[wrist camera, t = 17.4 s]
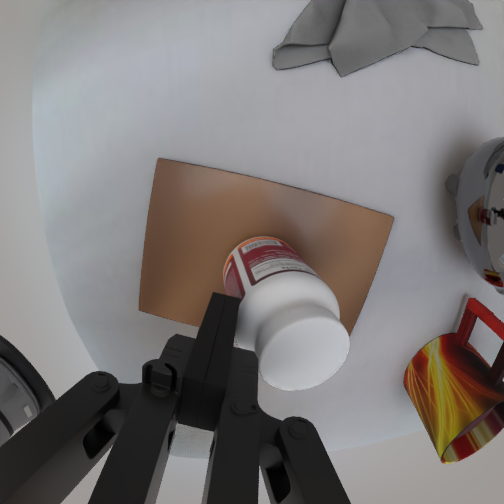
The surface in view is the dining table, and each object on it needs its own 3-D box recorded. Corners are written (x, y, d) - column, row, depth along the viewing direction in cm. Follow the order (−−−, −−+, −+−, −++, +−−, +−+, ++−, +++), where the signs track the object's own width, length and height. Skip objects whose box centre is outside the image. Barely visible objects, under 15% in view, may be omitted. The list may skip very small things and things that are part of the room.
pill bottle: (263, 317, 25) (300, 414, 15) (206, 277, 23) (213, 374, 12) (312, 264, 24) (383, 340, 14) (258, 217, 22) (310, 276, 12)
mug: (468, 289, 25) (536, 347, 13) (465, 373, 28) (506, 431, 17) (396, 326, 26) (450, 408, 15) (405, 404, 30) (436, 474, 18)
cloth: (451, -28, 13) (459, -35, 11) (499, 71, 17) (512, 68, 15) (231, -29, 16) (229, -42, 14) (280, 89, 20) (283, 82, 18)
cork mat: (140, 307, 26) (138, 310, 26) (159, 158, 22) (157, 158, 21) (339, 351, 27) (341, 354, 26) (391, 216, 23) (394, 217, 22)
